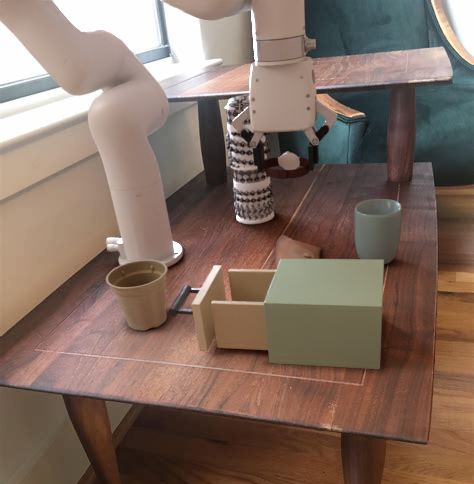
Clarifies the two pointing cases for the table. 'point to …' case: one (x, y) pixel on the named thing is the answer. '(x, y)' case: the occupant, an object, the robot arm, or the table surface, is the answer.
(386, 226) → the cup
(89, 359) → the table surface
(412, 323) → the table surface
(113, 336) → the table surface
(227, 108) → the decorative candle
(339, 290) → the cabinet
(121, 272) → the flower pot
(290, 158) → the watch
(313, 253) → the sunglasses case
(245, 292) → the drawer
